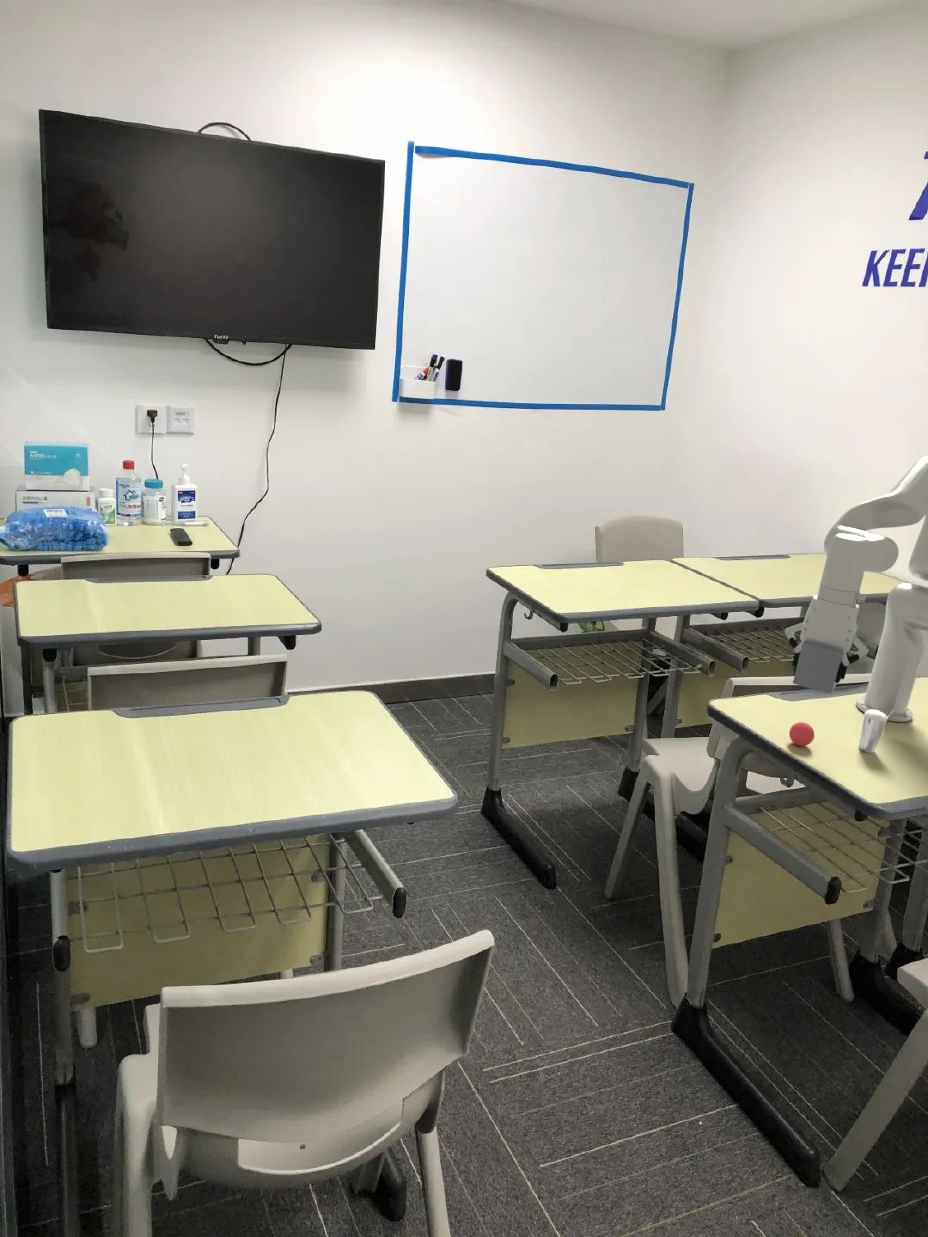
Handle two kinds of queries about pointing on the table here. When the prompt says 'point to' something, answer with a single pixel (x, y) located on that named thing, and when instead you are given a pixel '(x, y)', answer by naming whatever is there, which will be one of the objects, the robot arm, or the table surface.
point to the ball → (801, 734)
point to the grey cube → (817, 667)
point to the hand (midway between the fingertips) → (817, 675)
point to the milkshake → (872, 730)
